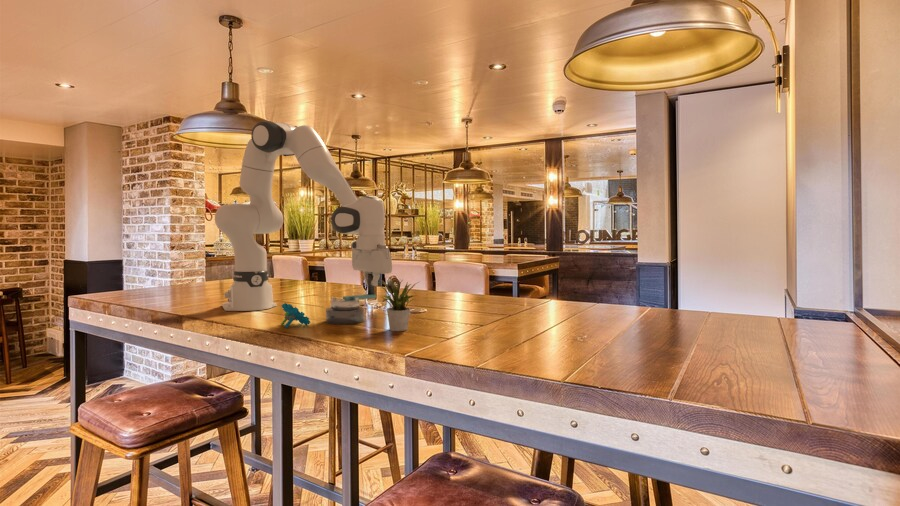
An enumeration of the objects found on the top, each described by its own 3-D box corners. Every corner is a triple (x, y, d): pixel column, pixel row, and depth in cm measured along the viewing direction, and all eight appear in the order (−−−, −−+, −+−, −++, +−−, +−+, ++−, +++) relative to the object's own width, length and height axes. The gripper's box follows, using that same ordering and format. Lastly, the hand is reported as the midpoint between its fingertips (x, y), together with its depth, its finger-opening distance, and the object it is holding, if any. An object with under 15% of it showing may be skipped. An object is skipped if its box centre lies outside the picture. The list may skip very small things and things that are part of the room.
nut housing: (319, 320, 159) (319, 307, 159) (352, 316, 167) (352, 303, 167) (336, 326, 150) (336, 312, 150) (370, 321, 158) (370, 308, 158)
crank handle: (339, 311, 152) (339, 277, 152) (325, 307, 159) (325, 275, 158) (381, 306, 163) (381, 274, 162) (367, 303, 169) (367, 272, 169)
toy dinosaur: (316, 321, 149) (292, 300, 144) (304, 337, 146) (279, 316, 141) (301, 321, 157) (278, 301, 153) (289, 336, 154) (265, 316, 150)
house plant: (360, 331, 142) (360, 276, 141) (384, 323, 155) (384, 272, 154) (404, 336, 137) (404, 278, 136) (425, 327, 150) (425, 274, 149)
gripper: (396, 245, 158) (396, 287, 159) (364, 243, 174) (364, 282, 174) (380, 245, 154) (380, 288, 155) (348, 243, 170) (348, 283, 170)
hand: (371, 285), depth 165 cm, fingers open, 3 cm apart
